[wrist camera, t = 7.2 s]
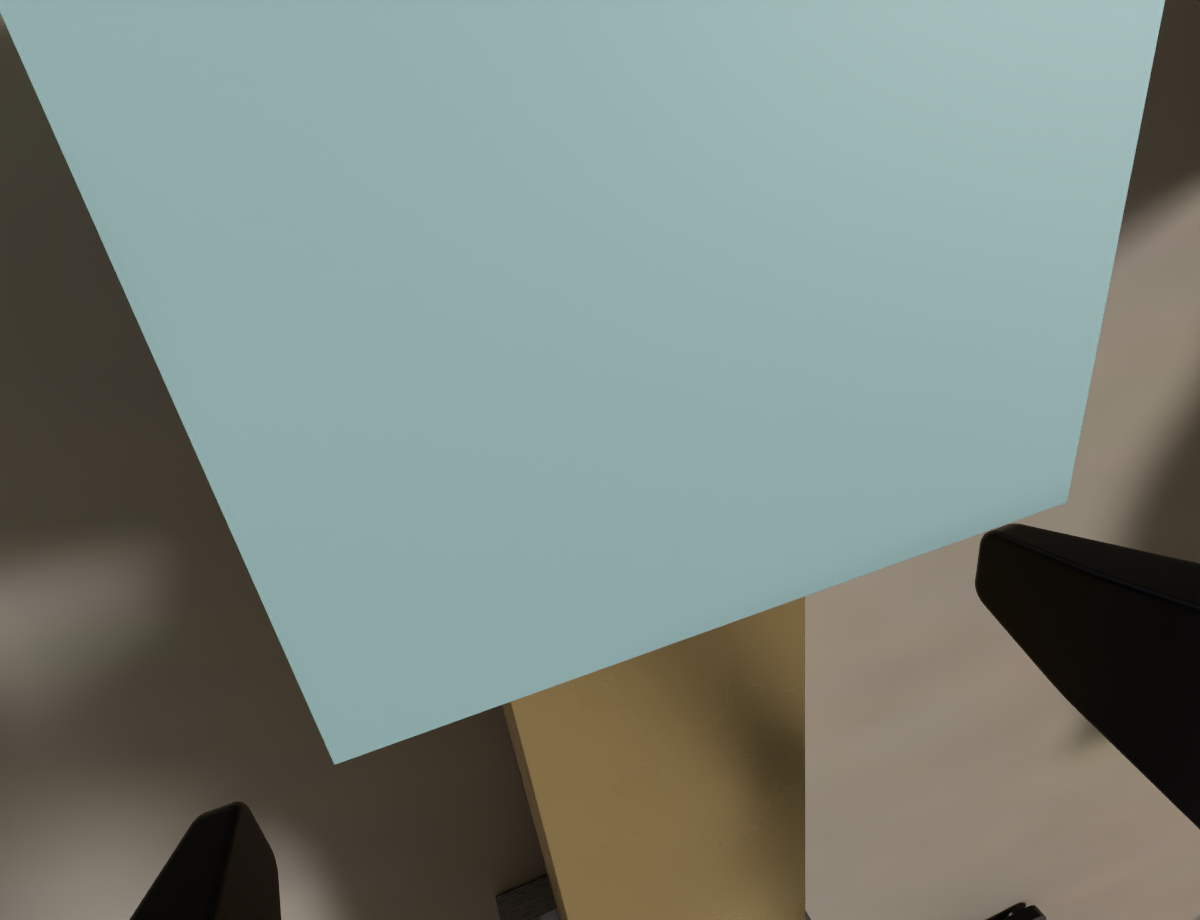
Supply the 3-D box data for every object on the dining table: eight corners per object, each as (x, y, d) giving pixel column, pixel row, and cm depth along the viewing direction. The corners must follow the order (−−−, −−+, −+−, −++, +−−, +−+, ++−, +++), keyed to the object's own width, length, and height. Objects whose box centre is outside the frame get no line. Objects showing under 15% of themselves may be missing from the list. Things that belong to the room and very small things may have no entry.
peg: (720, 924, 18) (805, 1096, 14) (579, 989, 17) (638, 1187, 14) (640, 96, 9) (803, 87, 6) (349, 143, 8) (369, 160, 5)
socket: (707, 316, 12) (1066, 502, 6) (324, 409, 11) (334, 764, 5) (680, -90, 10) (1245, -410, 4) (171, -41, 8) (-200, -437, 2)
